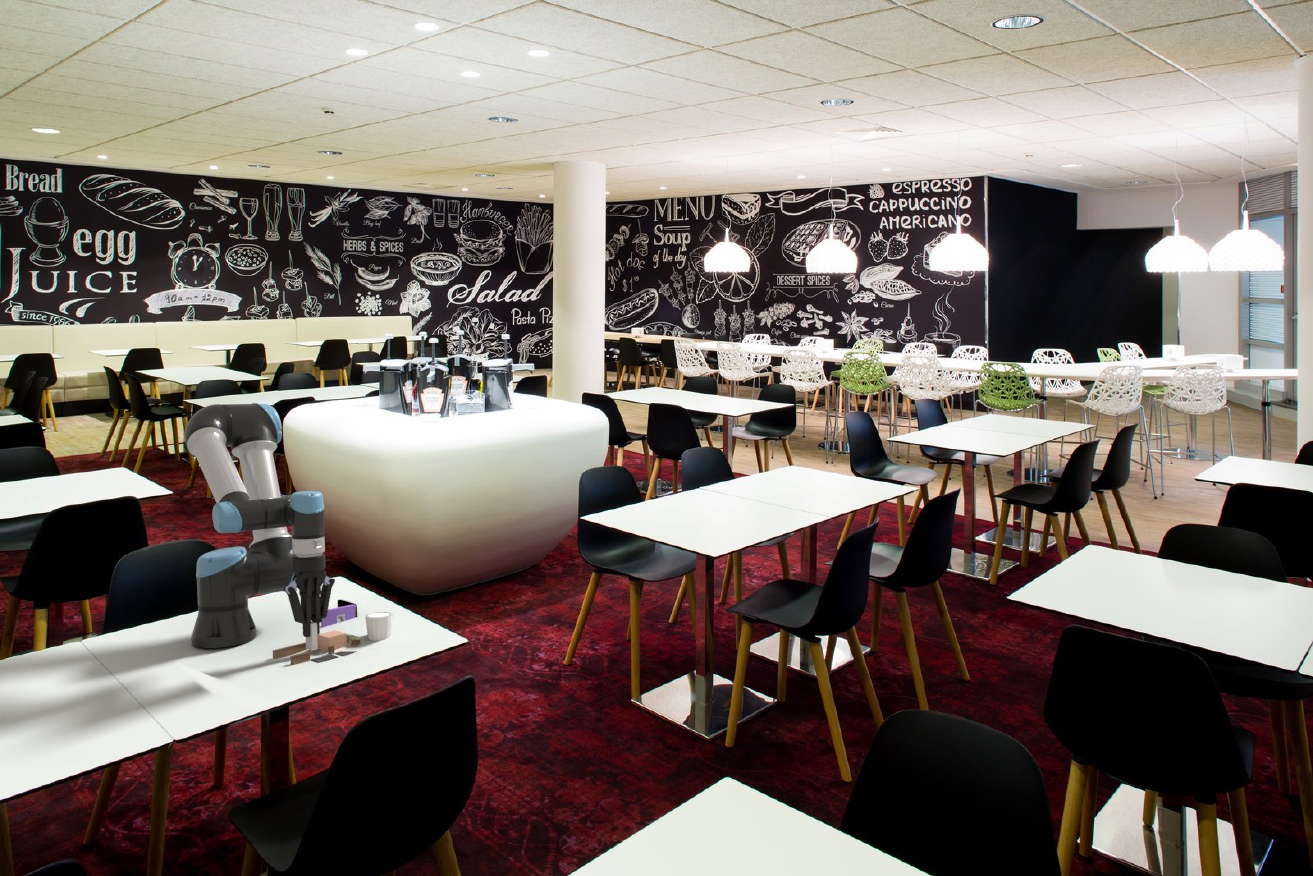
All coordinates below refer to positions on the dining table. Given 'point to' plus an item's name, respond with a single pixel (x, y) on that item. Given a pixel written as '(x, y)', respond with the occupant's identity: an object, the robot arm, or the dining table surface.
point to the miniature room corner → (340, 613)
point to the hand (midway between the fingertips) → (311, 648)
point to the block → (332, 640)
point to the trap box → (306, 655)
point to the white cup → (379, 625)
